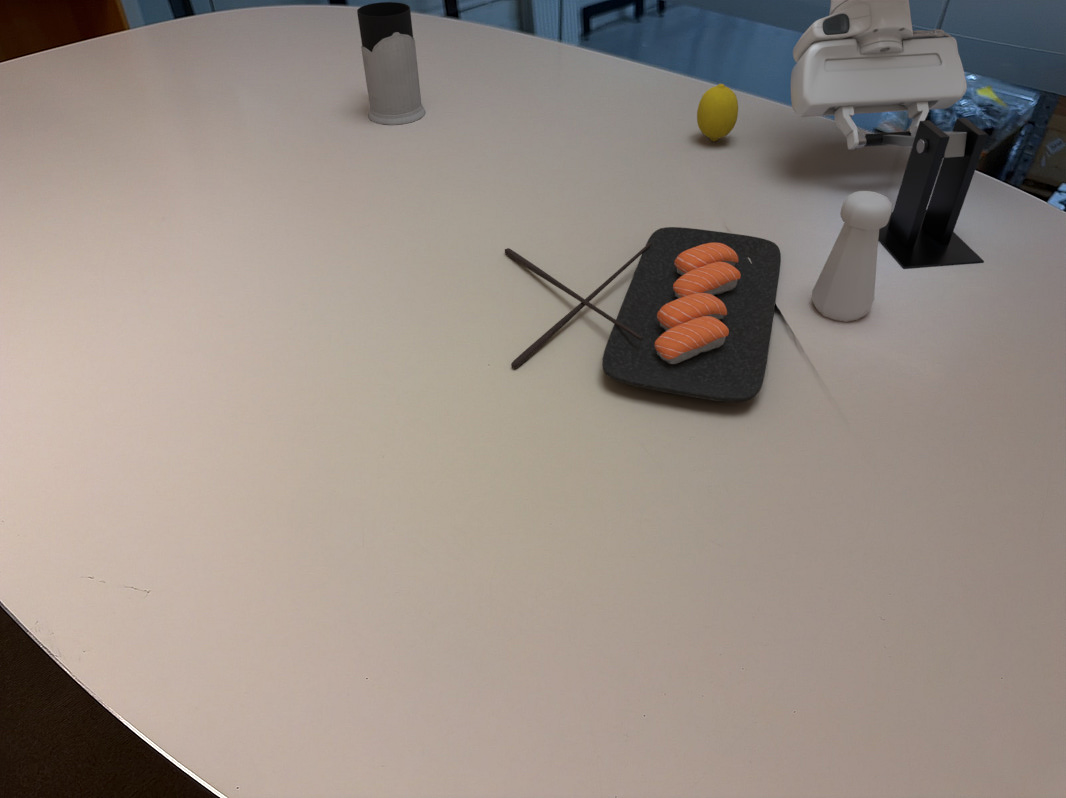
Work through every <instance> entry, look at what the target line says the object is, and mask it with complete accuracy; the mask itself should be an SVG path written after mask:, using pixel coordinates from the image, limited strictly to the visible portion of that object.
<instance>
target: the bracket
mask: <svg viewBox="0 0 1066 798" xmlns="http://www.w3.org/2000/svg"><path fill="white" fill-rule="evenodd" d="M952 131H955V132H967V137H966V145H965V153H964V156H963V157H951V158H943V157H944V153H945V150H946V147H947V144H948V141H949V138H950V137H949V136H948V135H947V134H945V133H944V132H945V131H943V130H942V129H940V128H939V127H938V126H937V125H935V124H934V123H933V122H931V121H930V120H929V119H927V120H925V121H920V122H919V126H918V129H917V132H916V136H915V139H914V142H913V146H912V147H911V150H910V152H909V156H908V160H907V163H906V166H905V168H904V169H905V170H904V173H903V177H902V180H901V183H900V187H899V189H898V193H897V196H896V199H895V203H894V205H893V206H894V207H893V209H892V213H891V215H890V218H889V221H888V223H887V225H886V226H884V227H882V228H880V229H879V238H878V243H880V245H881V246H882V247H883V248H884V249H885V250H886V251H887V252H888V254H889V255H890V256H891V257H892V258H893V259H894V261H895V262H897V264H898V265H899V266H900V267H901V269H903V270H908V269H909V270H910V269H911V270H912V269H922V268H935V267H936V268H937V267H949V266H950V267H951V266H961V265H974V264H984V263H985V261H984V260H983V258H982V257H980V256H979V255H978V254H977V253H976V251H974V250H973V249H972V248H971V247H970V246H969V245H968V244H967V243H966V242H965V241H964V240H963V239H962V238H960V236H959V235H958V234H957V233H956V232H954V230H955V228H956V225H957V223H958V219H959V216H960V214H961V212H962V209H963V207H964V203H965V200H966V197H967V195H968V191H969V189H970V186H971V184H972V180H973V177H974V175H975V172H976V169H977V166H978V163H979V161H980V158H981V156H982V152H983V149H984V147H985V144H986V141H987V138H988V133H986V132H985V131H984V130H982V129H981V128H980V127H978V126H977V125H976V124H975V123H973V122H972V121H970V120H968V118H966V117H959V118H956V119H955V122H954V126H953V128H952Z"/></svg>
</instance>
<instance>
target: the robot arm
mask: <svg viewBox="0 0 1066 798" xmlns="http://www.w3.org/2000/svg"><path fill="white" fill-rule="evenodd" d="M829 1H830V8H829V13H828V15H826V16H825V17H821V18H819V19H817V20H815V21H814V22H813V23H812V24H811V25H810V26H809V27H808V28H807V29H806V30H805V31H804V33H802V35H801V36H800V38H799V39H798V41H796V43H795V45H794V47H793V49H792V57H793V60H794V61H795V64H794V66H793V67H792V70H791V73H790V100H791V109H792V110H793V112H794V113H795V114H796V115H797V116H798V117H799V118H812V117H828V116H829V117H830V116H834V124H835V125H836V126H837V127H838V129H839V130H840V131H841V133H842V134H843V135H844V136H845V137H846V144H847V149H848V150H861V149H863V148H864V147H863V146H865V145H866V138H865V135H866V134H867V133H866V129H859V128H858V126H857V125H856V123H855V122H854V120H853V119H852V118H853V116H855V115H860V114H863V115H864V114H877V113H878V114H879V113H893V112H907V118H908V119H909V120H910V119H912V121H911V124H910V126H909V127H907V128H906V129H905V130H904V131H907V132H908V133H909V136H916V132H917V129H918V126H919V122H920V121H926V119H927V117H928V115H929V112H930V110H945V109H949V108H950V107H952V106H953V105H955V104H956V103H958V102H959V101H961V99H962V98H963V97H964V95H965V94H966V92H967V89H968V84H967V78H966V73H965V70H964V66H963V62H962V59H961V57H960V53H959V49H958V47H959V46H958V42H957V39H956V37H954V36H952V35H951V34H950V33H947V32H945V31H944V30H943V29H938V28H937V29H932V30H921V29H920V30H919V29H918V30H913V24H912V16H911V8H910V7H911V6H910V0H829Z"/></svg>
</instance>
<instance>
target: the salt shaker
mask: <svg viewBox="0 0 1066 798" xmlns="http://www.w3.org/2000/svg"><path fill="white" fill-rule="evenodd" d="M892 212H893V204H892V202H891V200H890V199H889V198H888V197H887V196H886V195H884V194H882V193H880V192H875V191H871V190H858V191H854V192H852V193H850V194H849V195H847V196H845V199H844V200H843V203H842V205H841V208H840V212H839V213H840V214H839V215H840V218H841V220H842V222H843V224H842V227H841V229H840V232H839V233H838V236H837V238H836V239H835V242H834V244H833V246H832V249H831V251H830V253H829V255H828V257H827V258H826V261H825V263H824V265H823V267H822V269H821V272H820V274H819V276H818V278H817V280H816V282H815V284H814V286H813V289H812V292H811V299H812V303H813V304H812V305H814V307H815V309H816V311H817V312H818V313H819V314H821V315H822V316H823V317H825V318H828V319H831V320H833V321H838V322H839V321H841V322H844V323H847V322H852V321H857V320H859V319H861V318H864V317H865V316H867V314H868V313H869V312H870V311H871V309H872V307H873V304H874V301H875V294H876V293H875V292H876V291H875V290H876V278H877V277H876V276H877V263H878V262H877V261H878V248H879V241H878V238H879V229H880V228H882V227H884V226H886V225H887V223H888V221H889V218H890V215H891V213H892Z"/></svg>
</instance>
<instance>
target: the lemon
mask: <svg viewBox="0 0 1066 798" xmlns="http://www.w3.org/2000/svg"><path fill="white" fill-rule="evenodd" d="M738 116H739V103H738V97H737V96H736V93H735V92H734V91H733V90H732V89H731V88H730V87H728V86H726V85H725V84H724V83H718V84H717V85H715V86H712V87H710V88H708V89H707V90H706V91H705V92H704V93H703V95H701V99H700V100H699V103H698V107H697V111H696V121H697V122H696V123H697V126H698V129H699V131H700V132H701V133H702V134H703V135H704V136H705V137H707V138H709V140H711V142H717V141H718V140H719V139H722V138H724V137H726V136H727V135H729V134H730V133H731V132H732V130H733V129H734V128H735V126H736V124H737V121H738Z"/></svg>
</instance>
